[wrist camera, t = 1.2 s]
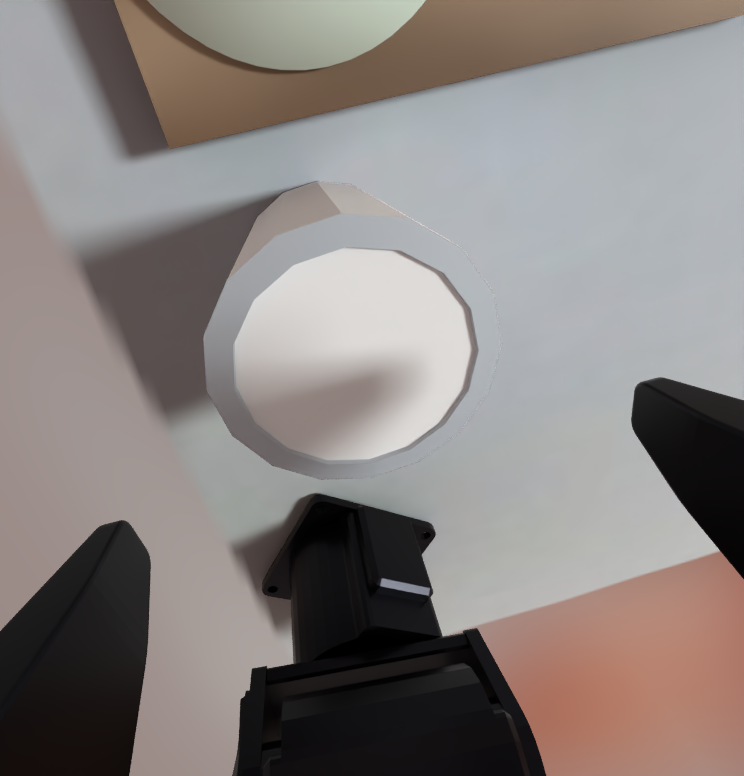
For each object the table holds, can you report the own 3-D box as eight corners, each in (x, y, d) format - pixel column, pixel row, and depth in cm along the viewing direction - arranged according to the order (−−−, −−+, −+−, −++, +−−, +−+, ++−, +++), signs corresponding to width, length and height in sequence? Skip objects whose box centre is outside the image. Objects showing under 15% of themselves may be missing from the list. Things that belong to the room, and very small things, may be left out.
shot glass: (427, 342, 20) (497, 457, 14) (248, 370, 19) (240, 505, 13) (423, 147, 16) (514, 192, 10) (199, 173, 15) (157, 238, 9)
